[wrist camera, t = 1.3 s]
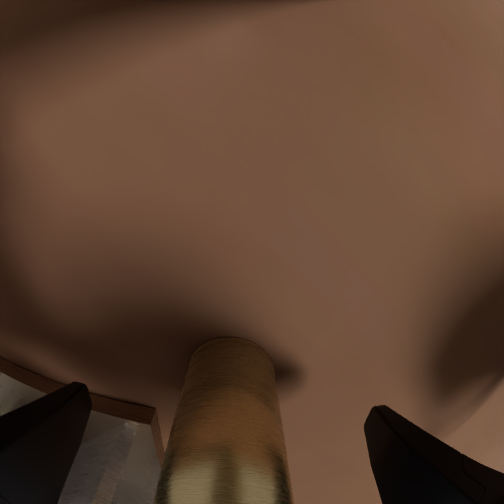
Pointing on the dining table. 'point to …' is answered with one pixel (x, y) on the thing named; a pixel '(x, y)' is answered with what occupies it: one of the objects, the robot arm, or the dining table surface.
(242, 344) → the hinge pin
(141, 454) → the hinge
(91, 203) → the dining table surface
